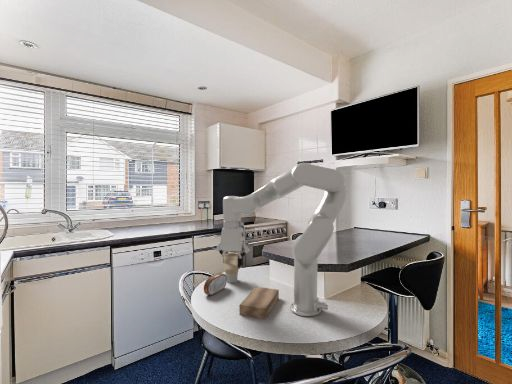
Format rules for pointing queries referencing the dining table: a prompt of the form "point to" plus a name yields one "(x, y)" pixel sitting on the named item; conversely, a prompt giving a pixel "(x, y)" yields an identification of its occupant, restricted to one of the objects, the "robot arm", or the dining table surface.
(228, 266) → the birch cube
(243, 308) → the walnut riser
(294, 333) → the dining table surface
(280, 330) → the dining table surface
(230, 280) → the coffee cup
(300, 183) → the robot arm
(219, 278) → the tin
